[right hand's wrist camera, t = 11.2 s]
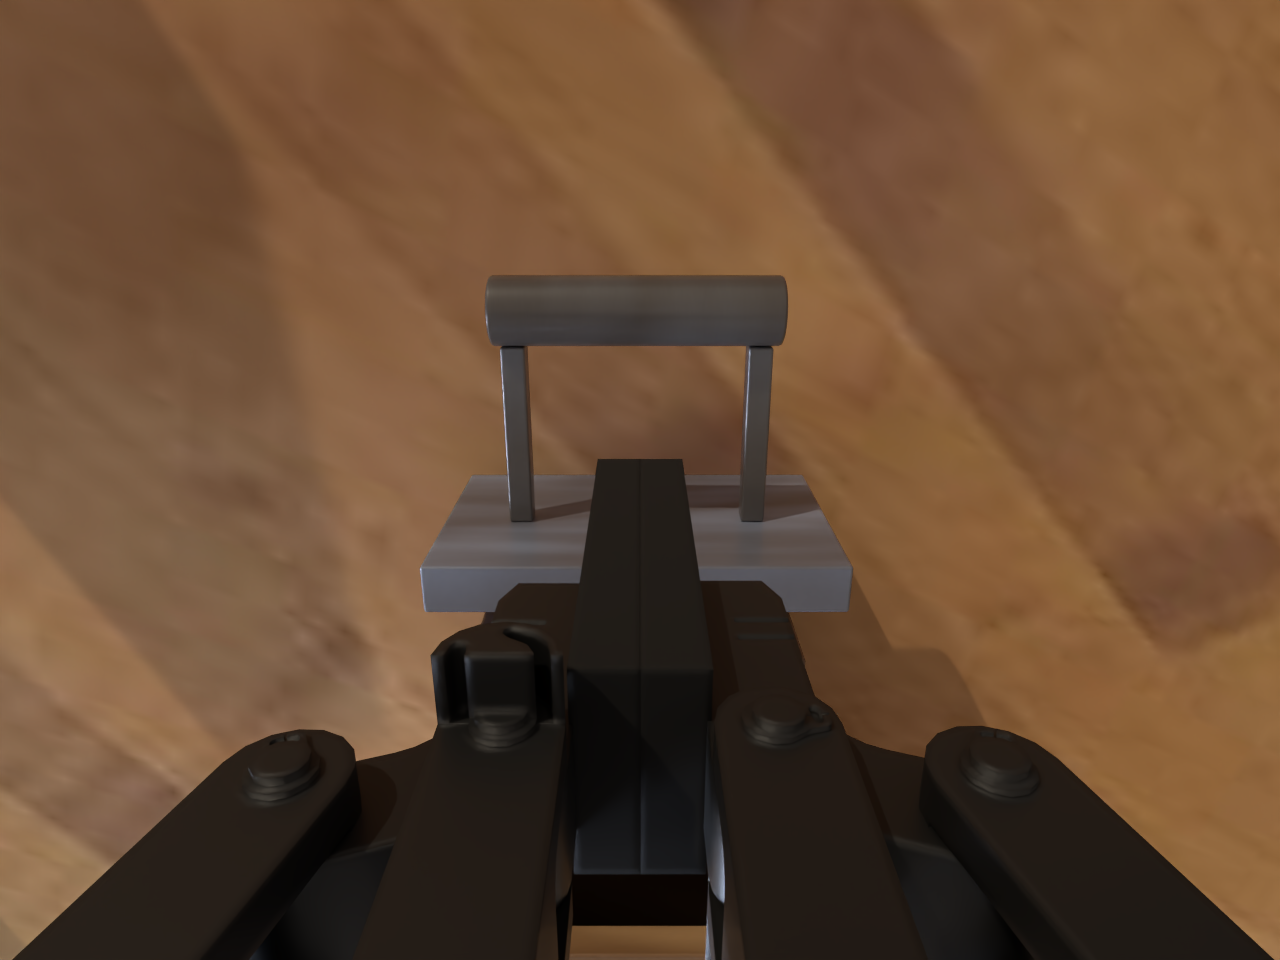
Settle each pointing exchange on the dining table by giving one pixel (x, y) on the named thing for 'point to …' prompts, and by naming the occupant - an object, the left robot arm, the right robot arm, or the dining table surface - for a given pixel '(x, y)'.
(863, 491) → the dining table surface
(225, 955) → the right robot arm
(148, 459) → the dining table surface
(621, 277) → the drawer
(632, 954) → the cabinet
